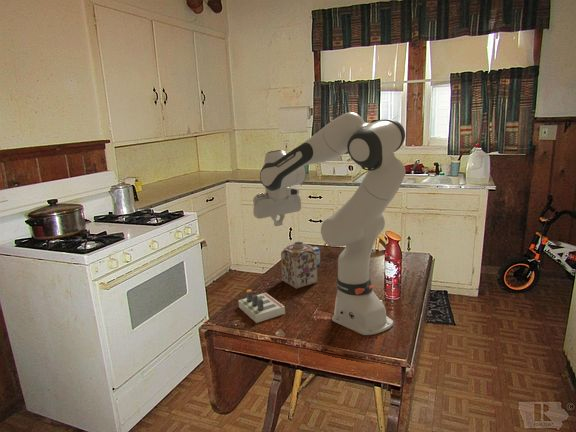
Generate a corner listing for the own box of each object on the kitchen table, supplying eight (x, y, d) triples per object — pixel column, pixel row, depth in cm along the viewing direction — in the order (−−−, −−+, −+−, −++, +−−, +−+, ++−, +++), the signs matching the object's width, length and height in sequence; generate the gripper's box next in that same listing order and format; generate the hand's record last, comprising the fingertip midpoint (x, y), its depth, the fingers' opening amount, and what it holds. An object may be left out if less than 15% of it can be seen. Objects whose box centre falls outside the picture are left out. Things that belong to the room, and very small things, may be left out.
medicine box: (306, 268, 200) (305, 251, 198) (301, 265, 204) (301, 248, 202) (320, 265, 204) (320, 248, 201) (315, 262, 207) (315, 245, 205)
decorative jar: (303, 274, 193) (301, 237, 189) (318, 282, 184) (317, 243, 179) (281, 280, 187) (279, 242, 183) (295, 289, 178) (294, 249, 173)
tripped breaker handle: (252, 300, 162) (251, 290, 161) (248, 301, 161) (248, 291, 160) (250, 298, 163) (250, 289, 162) (247, 299, 162) (246, 290, 161)
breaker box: (284, 313, 157) (284, 297, 155) (256, 323, 151) (255, 305, 150) (266, 299, 170) (265, 283, 168) (239, 307, 164) (237, 291, 162)
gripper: (256, 196, 157) (258, 231, 160) (302, 189, 167) (303, 222, 170) (249, 193, 162) (251, 228, 166) (294, 187, 172) (295, 219, 176)
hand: (278, 225), depth 168 cm, fingers closed
